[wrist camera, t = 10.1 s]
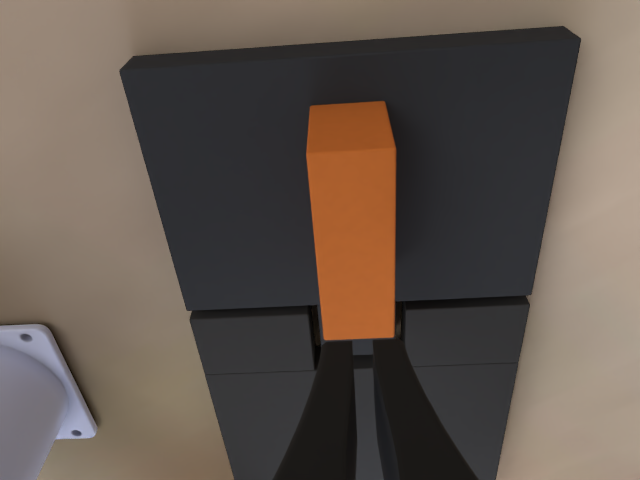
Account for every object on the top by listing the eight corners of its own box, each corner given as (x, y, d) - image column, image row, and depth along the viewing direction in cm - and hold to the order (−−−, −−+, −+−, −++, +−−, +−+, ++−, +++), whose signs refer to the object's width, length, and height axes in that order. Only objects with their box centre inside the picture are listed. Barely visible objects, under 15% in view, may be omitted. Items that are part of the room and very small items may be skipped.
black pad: (243, 477, 32) (240, 502, 31) (196, 295, 24) (189, 319, 23) (486, 470, 31) (492, 495, 30) (519, 281, 23) (530, 304, 22)
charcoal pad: (206, 337, 26) (183, 429, 21) (132, 55, 18) (74, 113, 14) (511, 324, 25) (548, 417, 21) (564, 25, 17) (637, 77, 13)
